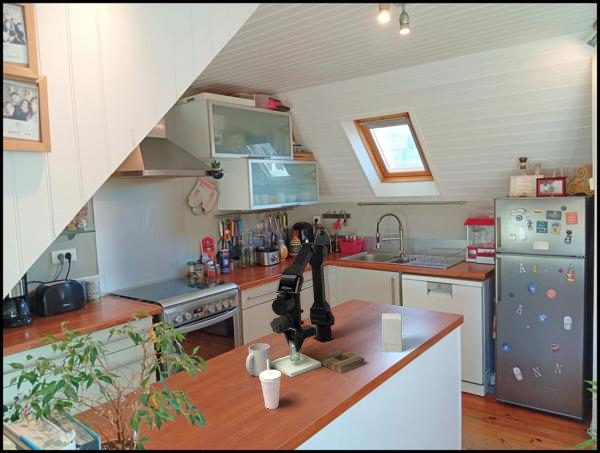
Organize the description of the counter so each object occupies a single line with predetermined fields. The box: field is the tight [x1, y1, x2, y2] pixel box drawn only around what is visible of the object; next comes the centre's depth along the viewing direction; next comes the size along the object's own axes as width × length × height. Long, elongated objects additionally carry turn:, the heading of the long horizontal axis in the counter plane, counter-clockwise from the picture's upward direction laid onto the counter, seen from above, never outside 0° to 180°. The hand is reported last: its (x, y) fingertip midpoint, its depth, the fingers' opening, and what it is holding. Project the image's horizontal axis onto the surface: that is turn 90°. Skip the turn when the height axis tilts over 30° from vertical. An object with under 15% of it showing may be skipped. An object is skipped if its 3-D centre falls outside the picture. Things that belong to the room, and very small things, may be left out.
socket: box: [319, 348, 365, 375], centre depth 161 cm, size 11×11×2 cm
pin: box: [288, 338, 301, 362], centre depth 161 cm, size 3×3×8 cm
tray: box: [270, 352, 322, 378], centre depth 161 cm, size 13×13×2 cm
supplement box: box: [381, 313, 403, 353], centre depth 173 cm, size 7×7×13 cm
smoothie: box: [258, 359, 282, 410], centre depth 133 cm, size 6×6×14 cm
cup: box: [245, 342, 272, 377], centre depth 156 cm, size 7×10×9 cm
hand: (294, 350), depth 161 cm, fingers closed on pin, 3 cm apart
